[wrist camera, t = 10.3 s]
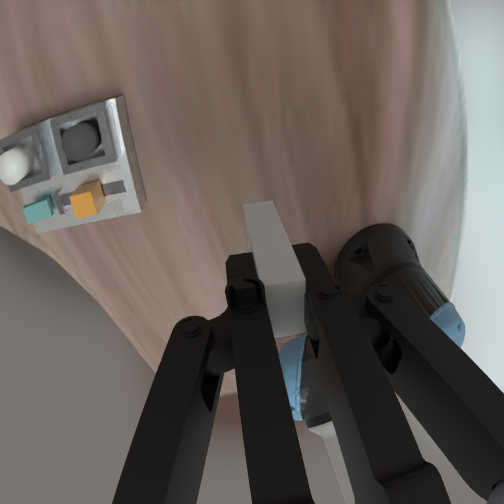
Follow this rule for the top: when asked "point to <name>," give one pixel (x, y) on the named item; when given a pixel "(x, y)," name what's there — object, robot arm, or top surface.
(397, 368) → the robot arm
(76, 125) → the button
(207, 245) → the top surface
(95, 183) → the slider knob
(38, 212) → the teal rectangular block
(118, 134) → the panel
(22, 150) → the button
